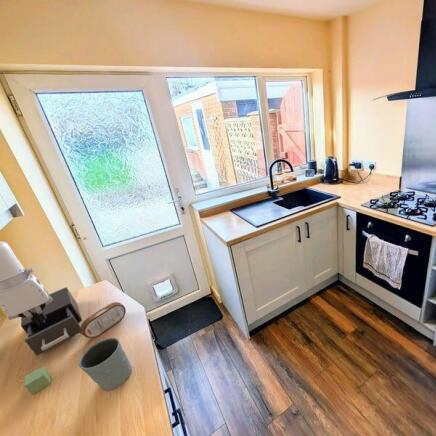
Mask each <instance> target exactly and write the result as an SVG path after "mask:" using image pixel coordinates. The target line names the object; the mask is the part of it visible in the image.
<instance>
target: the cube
mask: <svg viewBox="0 0 436 436" xmlns="http://www.w3.org/2000/svg"><path fill="white" fill-rule="evenodd" d="M51 384H52V381H51V374H50V373H49V372H48V370H47V369H46V368H45V367H44V366H41V367H39V368H38V369H36V370H34V371H31V373H28V374H27V375H26V376H24V387H25V388H26V390H27V391H28V392H29V393H30V394H31V395H35V394H37V393H38V392H40V391H41V390H43V389H45V388H47V387H48V386H50V385H51Z"/></svg>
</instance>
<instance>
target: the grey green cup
mask: <svg viewBox="0 0 436 436" xmlns="http://www.w3.org/2000/svg"><path fill="white" fill-rule="evenodd" d="M78 367H79V368H80V369H81V370H82V371H83V372H84V373H86V374H87V375H88V376H89V378H90V379H91V380H92V381H93V382H94V383H96V384H97V385H98V387H99V388H101V390H103V391H105V392H107V391H108V392H109V391H113V390H115V389H117V388H119V387H121V386H122V385H123V384H124V383H125V382H126V381H127V380H128V379H129V377H130V376H131V374H132V371H133V370H132V369H133V367H132V364H131V362H130V361H129V358H128V356H127V354H126V352H125V350H124V349H123V346H122V344H121V342H120V340H119V339H118V338H116V337H108V338H104V339H101V340H99V341H97V342H95V343H93V345H91V346H90V347H89V348H87V349H86V350H85V351H84V352H83V354H82V355H81V356H80V358H79V361H78Z"/></svg>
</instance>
